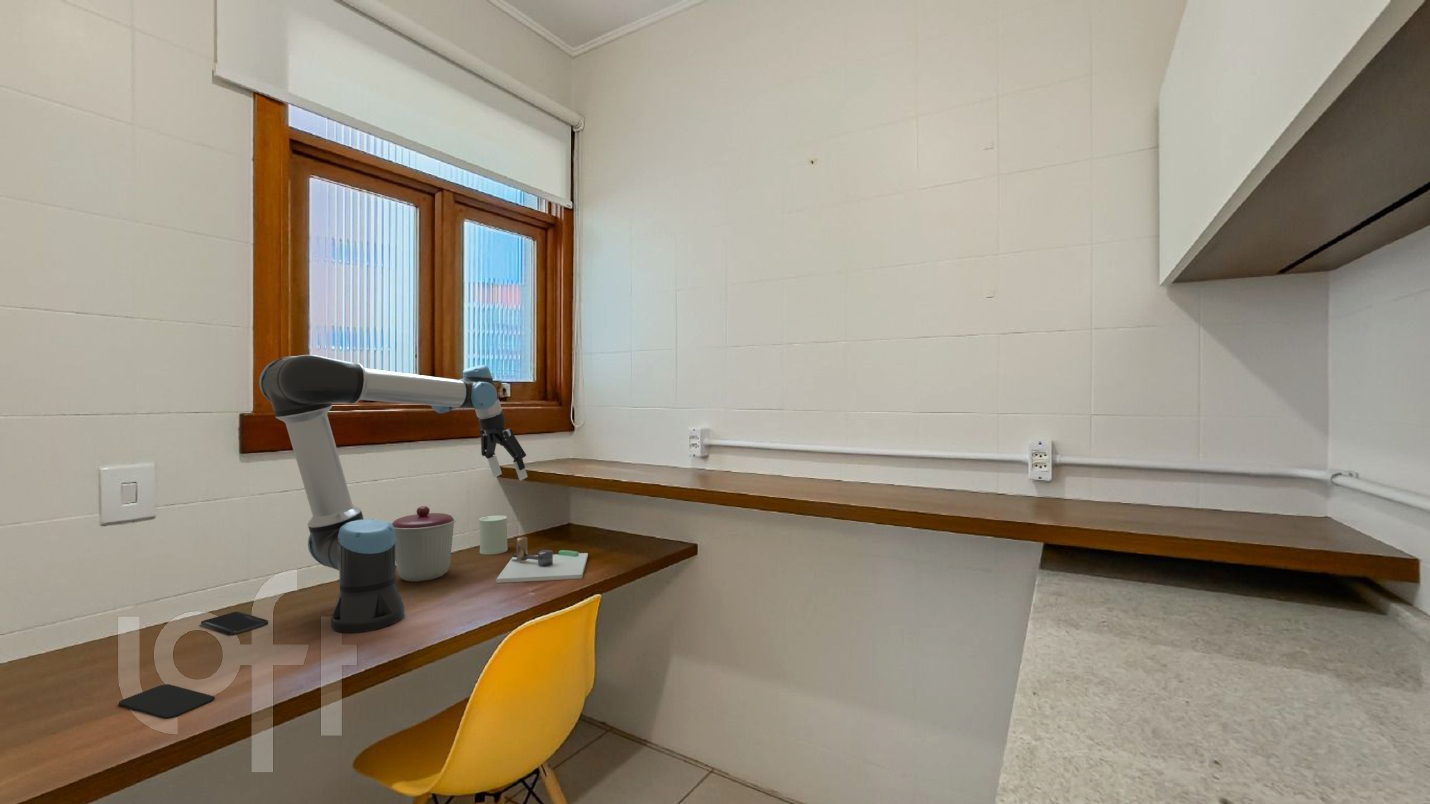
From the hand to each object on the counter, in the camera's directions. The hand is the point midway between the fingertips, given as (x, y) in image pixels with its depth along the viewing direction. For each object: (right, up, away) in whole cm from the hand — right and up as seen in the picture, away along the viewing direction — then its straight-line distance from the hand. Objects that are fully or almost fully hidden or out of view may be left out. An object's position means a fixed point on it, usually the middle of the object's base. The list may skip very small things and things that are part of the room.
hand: (510, 477), depth 189 cm
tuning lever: (+8, -26, -3) cm, 28 cm away
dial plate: (+13, -28, -5) cm, 31 cm away
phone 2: (-49, -29, -48) cm, 75 cm away
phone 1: (-32, -30, -84) cm, 95 cm away
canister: (-22, -28, -12) cm, 38 cm away
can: (-12, -28, +17) cm, 35 cm away
